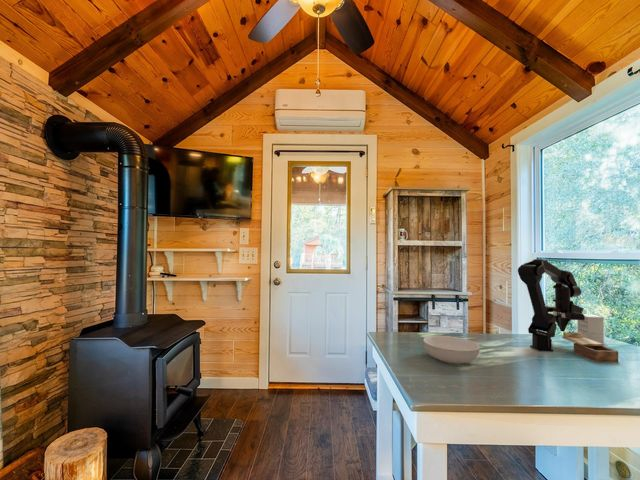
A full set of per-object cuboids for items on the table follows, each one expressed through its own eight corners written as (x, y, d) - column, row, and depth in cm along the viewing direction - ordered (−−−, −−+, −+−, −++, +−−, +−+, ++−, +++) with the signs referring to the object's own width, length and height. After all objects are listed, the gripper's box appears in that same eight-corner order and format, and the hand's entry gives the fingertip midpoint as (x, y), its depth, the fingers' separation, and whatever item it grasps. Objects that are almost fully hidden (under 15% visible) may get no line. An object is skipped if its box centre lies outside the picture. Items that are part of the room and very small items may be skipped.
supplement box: (592, 339, 161) (592, 314, 161) (604, 343, 154) (604, 317, 154) (576, 338, 162) (576, 313, 162) (587, 342, 154) (587, 316, 155)
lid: (582, 345, 134) (582, 339, 134) (562, 338, 145) (562, 332, 145) (603, 345, 134) (603, 339, 134) (581, 338, 145) (581, 332, 145)
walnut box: (595, 362, 128) (595, 351, 128) (573, 353, 139) (573, 342, 139) (618, 362, 128) (618, 351, 128) (594, 353, 139) (594, 343, 139)
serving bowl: (487, 371, 116) (487, 352, 116) (426, 366, 120) (426, 348, 120) (472, 353, 136) (472, 337, 136) (420, 349, 140) (420, 333, 140)
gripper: (596, 301, 142) (597, 337, 141) (564, 295, 161) (564, 326, 160) (571, 301, 142) (571, 336, 141) (542, 295, 160) (542, 326, 160)
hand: (562, 331), depth 151 cm, fingers closed
